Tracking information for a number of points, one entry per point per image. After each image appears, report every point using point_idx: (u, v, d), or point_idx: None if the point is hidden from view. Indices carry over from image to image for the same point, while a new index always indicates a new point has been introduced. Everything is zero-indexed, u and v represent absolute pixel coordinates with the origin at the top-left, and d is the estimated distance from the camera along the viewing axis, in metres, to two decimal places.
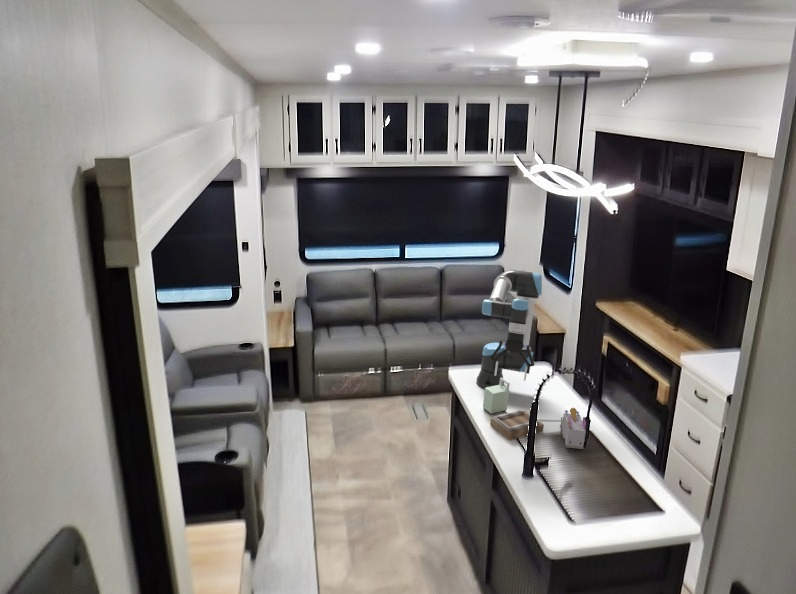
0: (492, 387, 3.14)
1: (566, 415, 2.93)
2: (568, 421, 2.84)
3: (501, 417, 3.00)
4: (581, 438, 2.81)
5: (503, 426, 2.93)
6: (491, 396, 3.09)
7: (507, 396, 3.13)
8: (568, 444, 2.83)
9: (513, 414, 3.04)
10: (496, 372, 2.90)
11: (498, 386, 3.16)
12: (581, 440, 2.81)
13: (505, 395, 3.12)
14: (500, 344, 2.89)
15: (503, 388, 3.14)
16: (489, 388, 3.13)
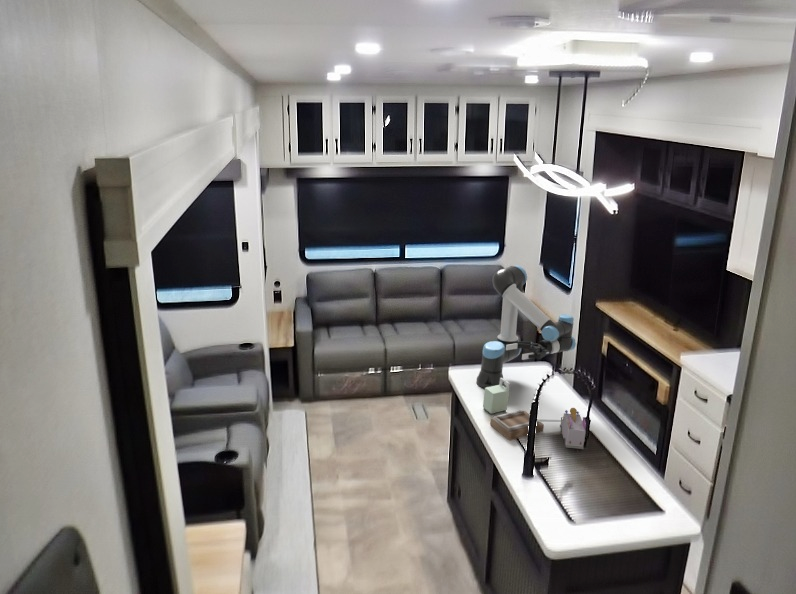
0: (492, 387, 3.14)
1: (566, 415, 2.93)
2: (568, 421, 2.84)
3: (501, 417, 3.00)
4: (581, 438, 2.81)
5: (503, 426, 2.93)
6: (491, 396, 3.09)
7: (507, 396, 3.13)
8: (568, 444, 2.83)
9: (513, 414, 3.04)
10: None
11: (498, 386, 3.16)
12: (581, 440, 2.81)
13: (505, 395, 3.12)
14: None
15: (503, 388, 3.14)
16: (489, 388, 3.13)
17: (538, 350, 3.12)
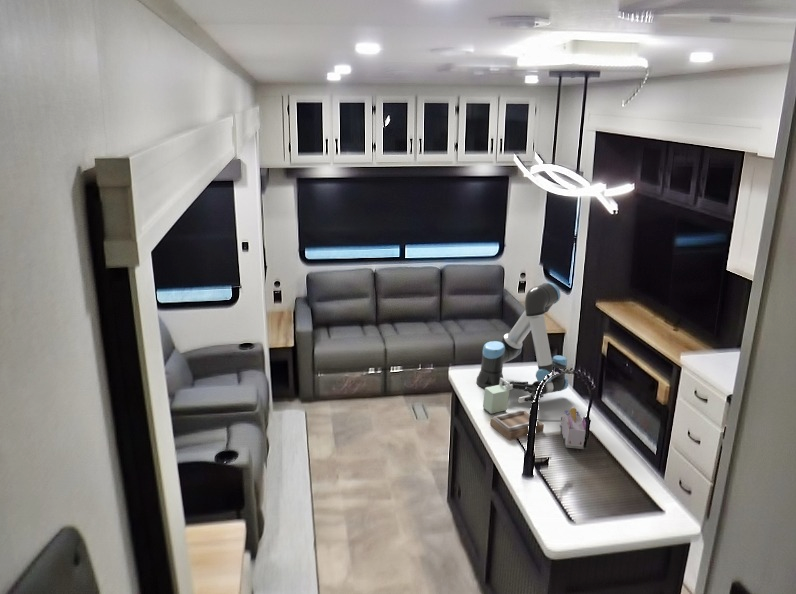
0: (492, 387, 3.14)
1: (566, 415, 2.93)
2: (568, 421, 2.84)
3: (501, 417, 3.00)
4: (581, 438, 2.81)
5: (503, 426, 2.93)
6: (491, 396, 3.09)
7: (507, 396, 3.13)
8: (568, 444, 2.83)
9: (513, 414, 3.04)
10: None
11: (498, 386, 3.16)
12: (581, 440, 2.81)
13: (505, 395, 3.12)
14: None
15: (503, 388, 3.14)
16: (489, 388, 3.13)
17: (533, 392, 3.18)
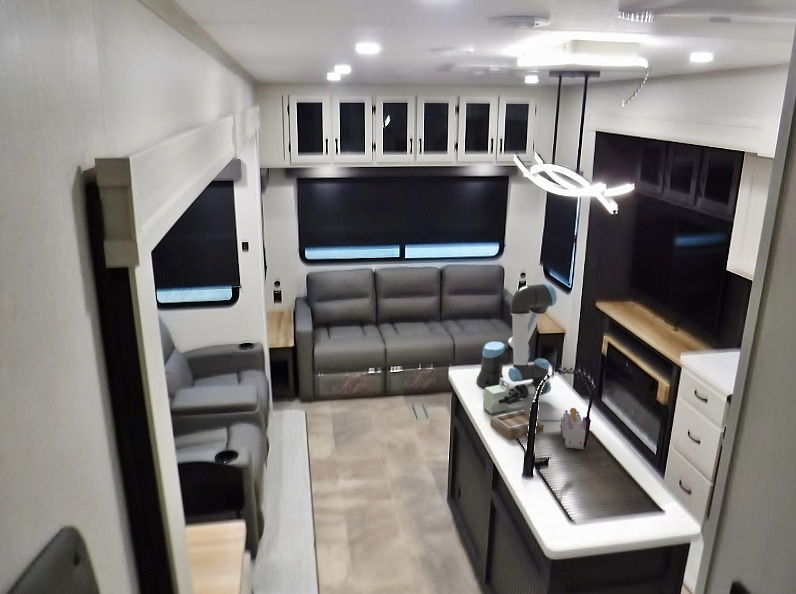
0: (492, 387, 3.14)
1: (566, 415, 2.93)
2: (568, 421, 2.84)
3: (501, 417, 3.00)
4: (581, 438, 2.81)
5: (503, 426, 2.93)
6: (491, 396, 3.09)
7: None
8: (568, 444, 2.83)
9: (513, 414, 3.04)
10: None
11: (498, 386, 3.16)
12: (581, 440, 2.81)
13: (505, 395, 3.12)
14: None
15: (503, 388, 3.14)
16: (489, 388, 3.13)
17: (511, 395, 3.14)
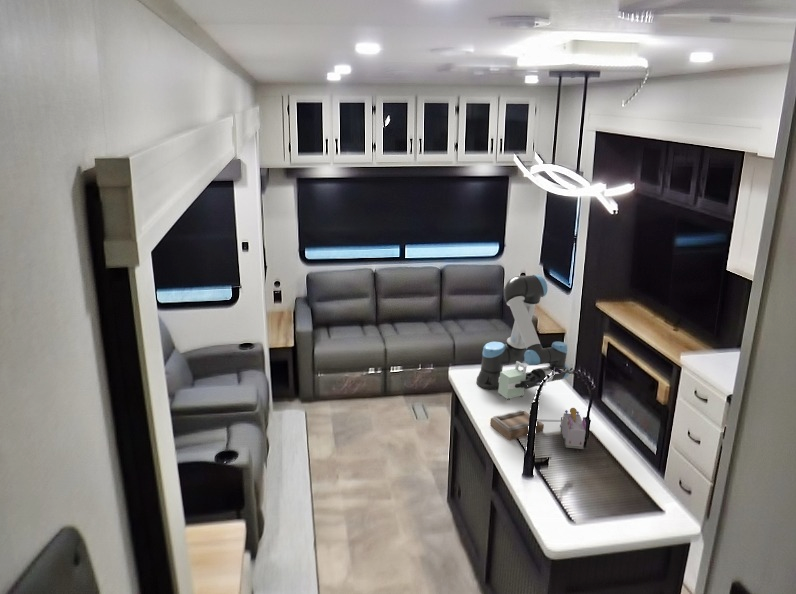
0: (508, 371, 2.98)
1: (566, 415, 2.93)
2: (568, 421, 2.84)
3: (501, 417, 3.00)
4: (581, 438, 2.81)
5: (503, 426, 2.93)
6: (507, 380, 2.93)
7: (524, 380, 2.97)
8: (568, 444, 2.83)
9: (513, 414, 3.04)
10: None
11: (514, 370, 3.00)
12: (581, 440, 2.81)
13: (522, 379, 2.96)
14: None
15: (519, 372, 2.98)
16: (504, 372, 2.97)
17: (528, 379, 2.98)
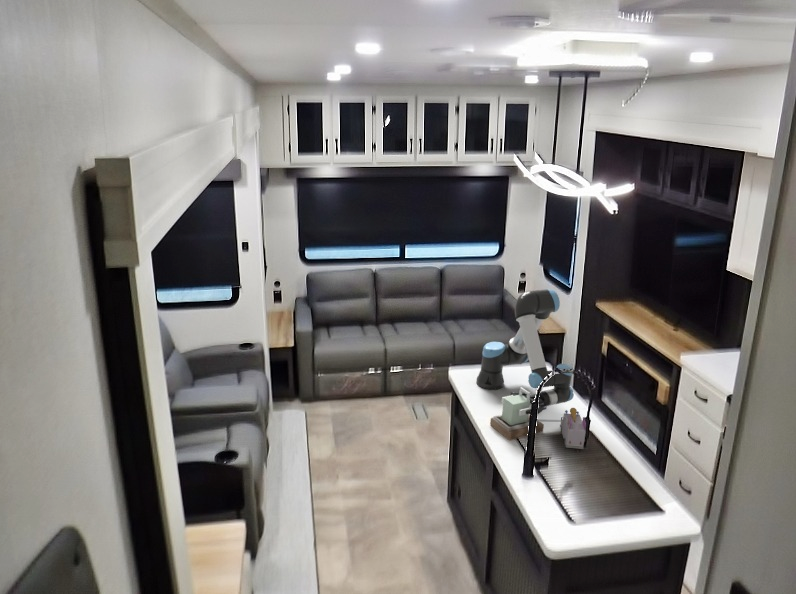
0: (511, 398, 2.95)
1: (566, 415, 2.93)
2: (568, 421, 2.84)
3: (501, 417, 3.00)
4: (581, 438, 2.81)
5: (503, 426, 2.93)
6: (511, 407, 2.91)
7: (528, 407, 2.95)
8: (568, 444, 2.83)
9: None
10: None
11: (518, 396, 2.97)
12: (581, 440, 2.81)
13: (526, 406, 2.94)
14: None
15: (523, 398, 2.95)
16: (508, 398, 2.95)
17: None
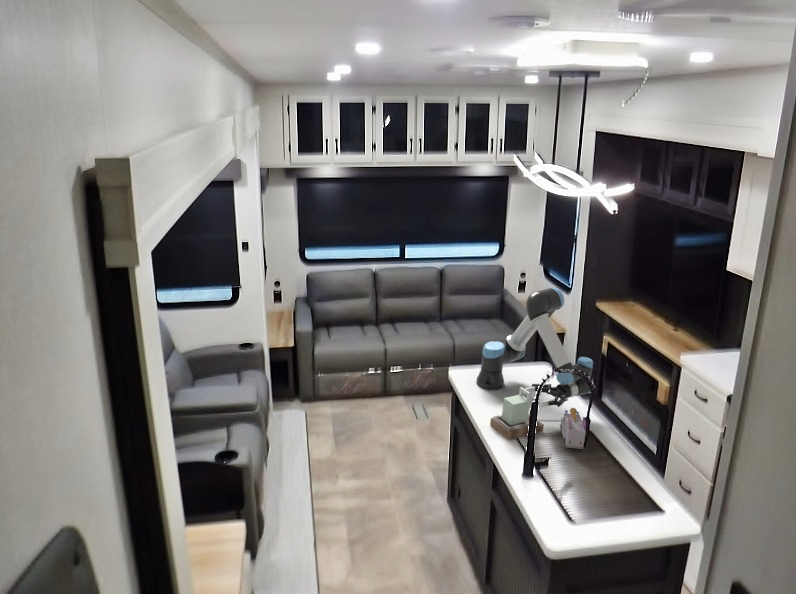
0: (511, 398, 2.95)
1: (566, 415, 2.93)
2: (568, 421, 2.84)
3: (501, 417, 3.00)
4: (581, 438, 2.81)
5: (503, 426, 2.93)
6: (511, 407, 2.91)
7: (528, 407, 2.95)
8: (568, 444, 2.83)
9: None
10: None
11: (518, 396, 2.97)
12: (581, 440, 2.81)
13: (526, 406, 2.94)
14: None
15: (523, 398, 2.95)
16: (508, 398, 2.95)
17: (557, 396, 3.01)
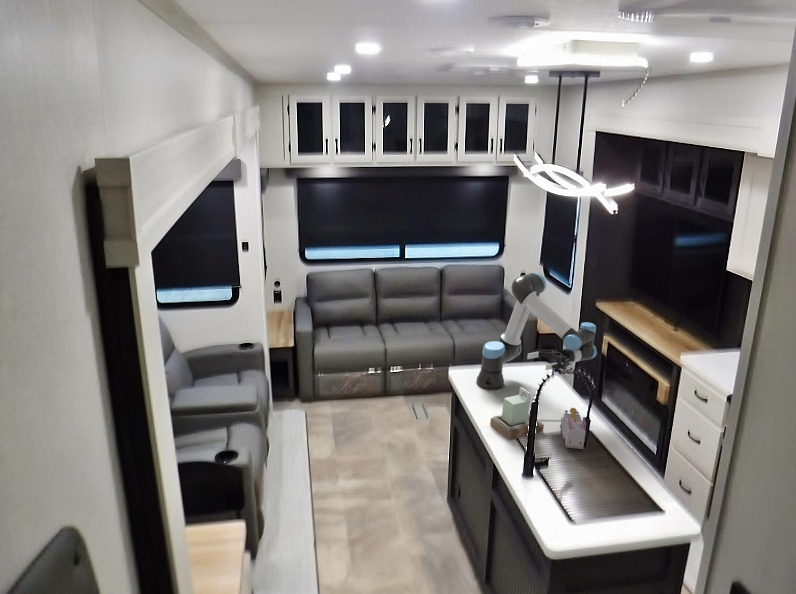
0: (511, 398, 2.95)
1: (566, 415, 2.93)
2: (568, 421, 2.84)
3: (501, 417, 3.00)
4: (581, 438, 2.81)
5: (503, 426, 2.93)
6: (511, 407, 2.91)
7: (528, 407, 2.95)
8: (568, 444, 2.83)
9: None
10: None
11: (518, 396, 2.97)
12: (581, 440, 2.81)
13: (526, 406, 2.94)
14: None
15: (523, 398, 2.95)
16: (508, 398, 2.95)
17: (561, 360, 3.04)
